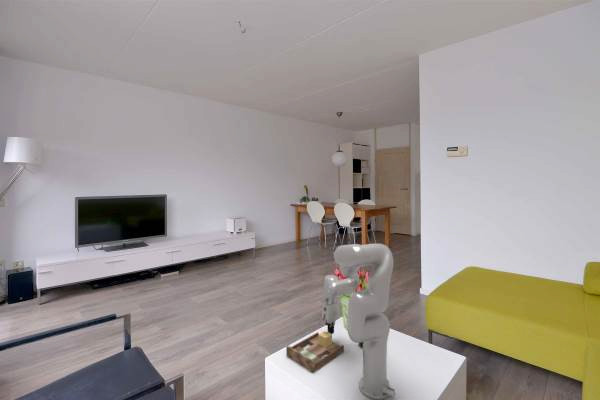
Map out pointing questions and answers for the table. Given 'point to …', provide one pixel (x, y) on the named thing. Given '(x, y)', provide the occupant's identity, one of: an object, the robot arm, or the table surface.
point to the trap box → (313, 353)
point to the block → (325, 339)
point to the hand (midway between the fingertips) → (330, 332)
